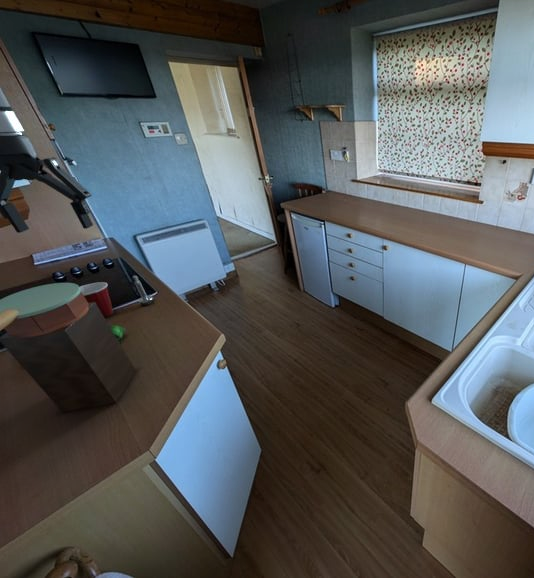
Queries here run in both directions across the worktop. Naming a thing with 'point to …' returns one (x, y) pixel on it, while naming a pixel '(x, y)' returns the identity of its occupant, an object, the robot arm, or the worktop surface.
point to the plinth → (71, 355)
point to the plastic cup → (98, 296)
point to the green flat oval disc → (36, 301)
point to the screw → (142, 292)
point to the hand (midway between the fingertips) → (56, 228)
